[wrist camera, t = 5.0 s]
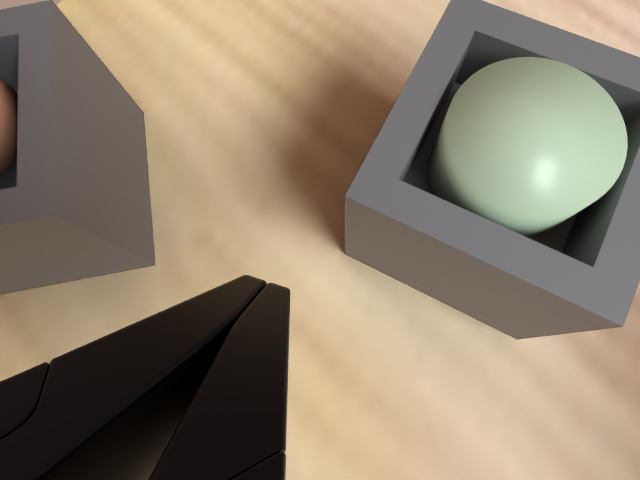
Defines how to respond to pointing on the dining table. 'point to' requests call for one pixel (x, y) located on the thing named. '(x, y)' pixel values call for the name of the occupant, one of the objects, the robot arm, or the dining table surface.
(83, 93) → the terracotta button housing
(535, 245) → the grey button housing
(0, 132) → the terracotta button
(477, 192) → the green button
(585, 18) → the dining table surface
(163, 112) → the dining table surface
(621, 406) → the dining table surface
